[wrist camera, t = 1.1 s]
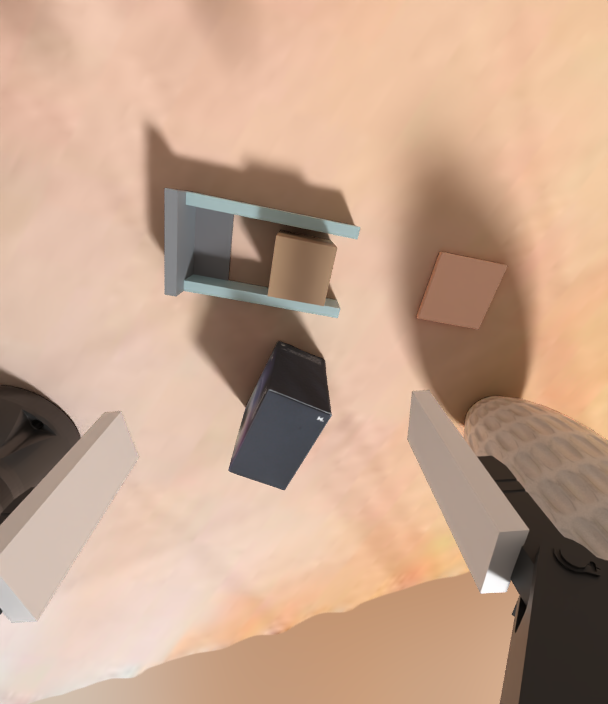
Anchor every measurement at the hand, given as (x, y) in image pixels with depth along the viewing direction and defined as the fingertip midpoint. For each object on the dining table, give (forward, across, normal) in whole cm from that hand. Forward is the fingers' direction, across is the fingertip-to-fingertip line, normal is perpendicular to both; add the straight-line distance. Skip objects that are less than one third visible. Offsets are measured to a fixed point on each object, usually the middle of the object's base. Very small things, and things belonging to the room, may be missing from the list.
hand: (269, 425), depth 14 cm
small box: (+21, -1, -10) cm, 23 cm away
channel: (+21, -1, +5) cm, 21 cm away
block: (+21, +2, +4) cm, 21 cm away
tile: (+21, +18, 0) cm, 28 cm away
